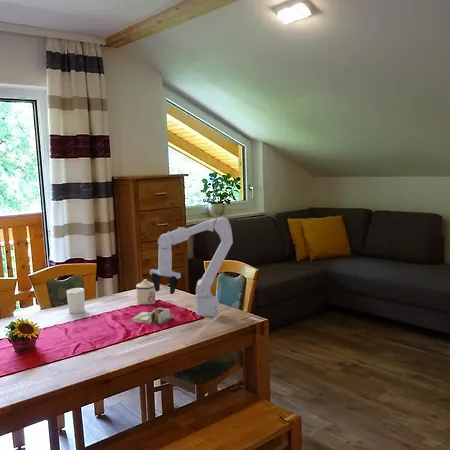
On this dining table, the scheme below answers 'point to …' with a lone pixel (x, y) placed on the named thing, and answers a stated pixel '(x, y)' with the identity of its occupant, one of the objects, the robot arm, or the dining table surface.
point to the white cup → (76, 300)
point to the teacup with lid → (145, 292)
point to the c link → (160, 315)
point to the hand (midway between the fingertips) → (164, 292)
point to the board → (144, 317)
